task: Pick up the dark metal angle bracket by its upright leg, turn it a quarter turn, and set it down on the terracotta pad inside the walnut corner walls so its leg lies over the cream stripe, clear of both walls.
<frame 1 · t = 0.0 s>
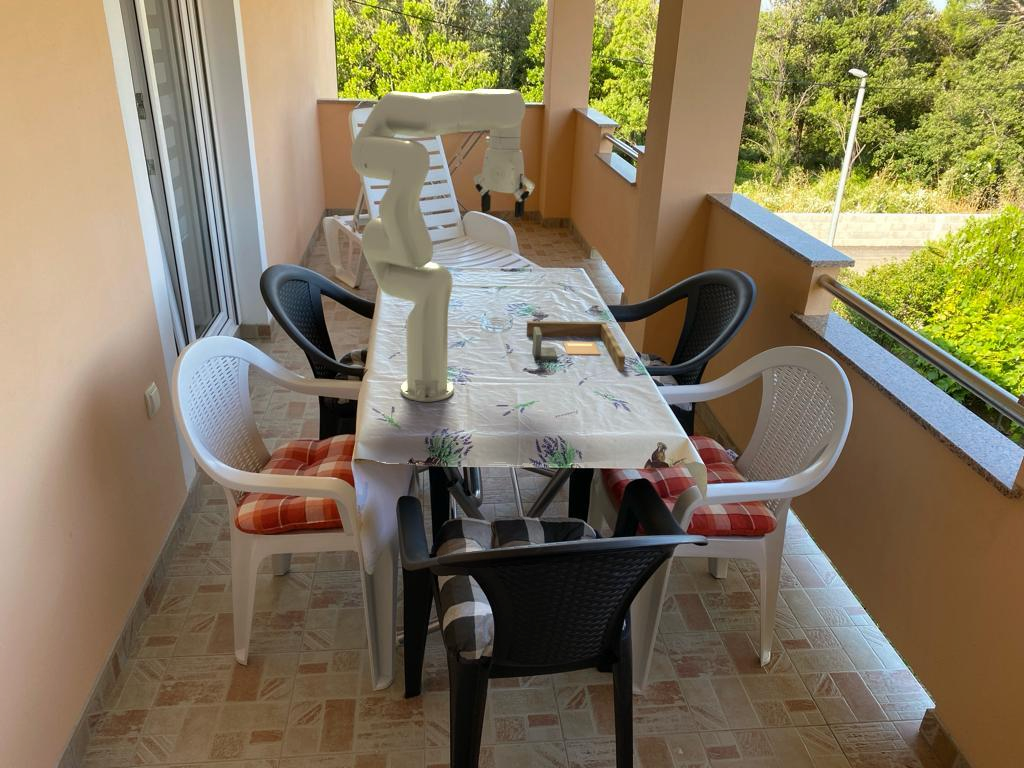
hand: (502, 213, 188), 37 cm above the table, tool pointing down, fingers open, 9 cm apart
bracket: (544, 356, 200), on the table
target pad: (581, 348, 207), on the table
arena: (571, 351, 205), on the table
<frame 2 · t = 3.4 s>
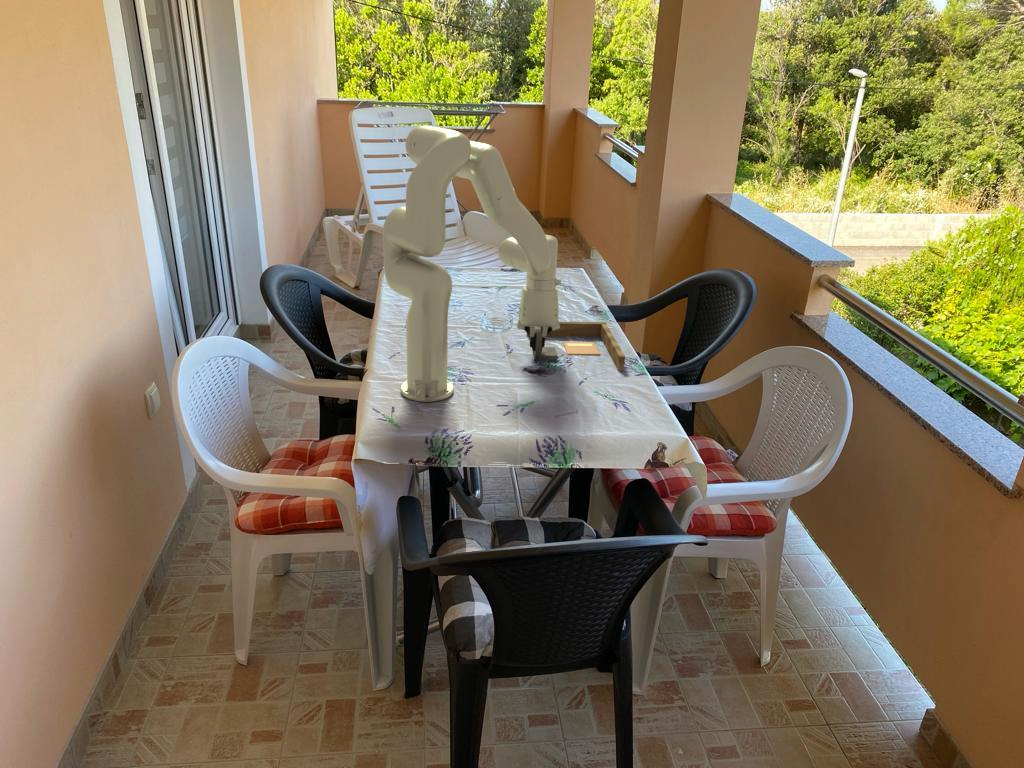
hand: (536, 349, 199), 2 cm above the table, tool pointing down, fingers closed on bracket
bracket: (544, 356, 200), on the table, touching gripper
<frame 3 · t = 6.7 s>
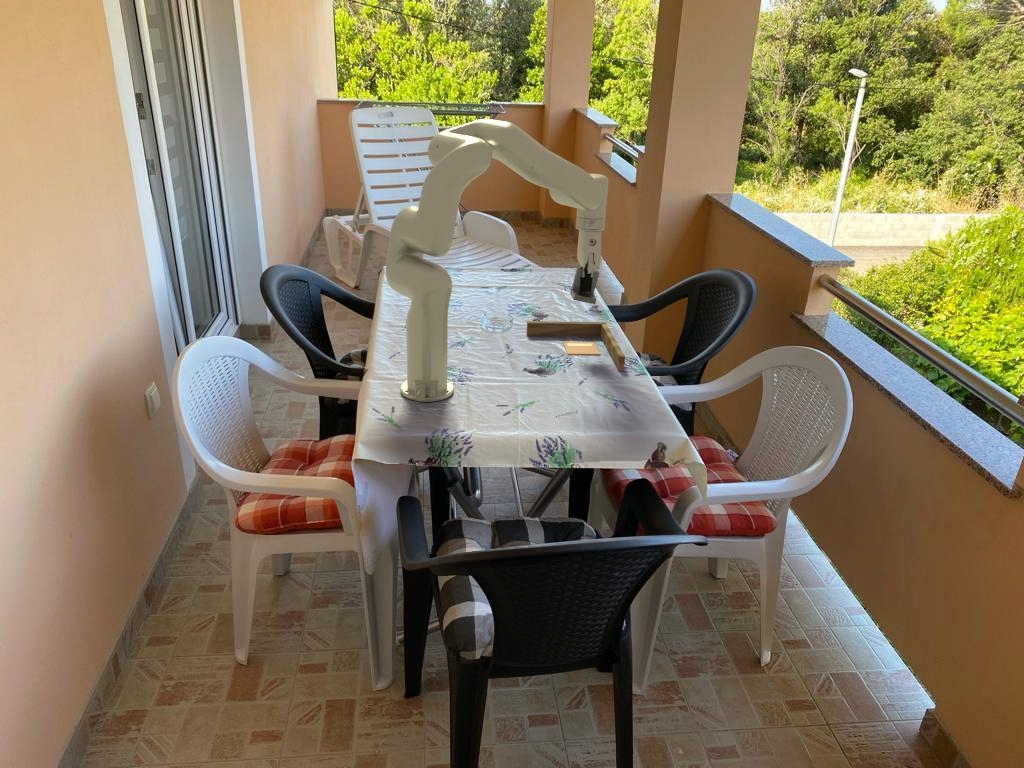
hand: (584, 290, 202), 16 cm above the table, tool pointing down, fingers closed on bracket
bracket: (582, 298, 201), point 15 cm above the table, tilted 10°, touching gripper
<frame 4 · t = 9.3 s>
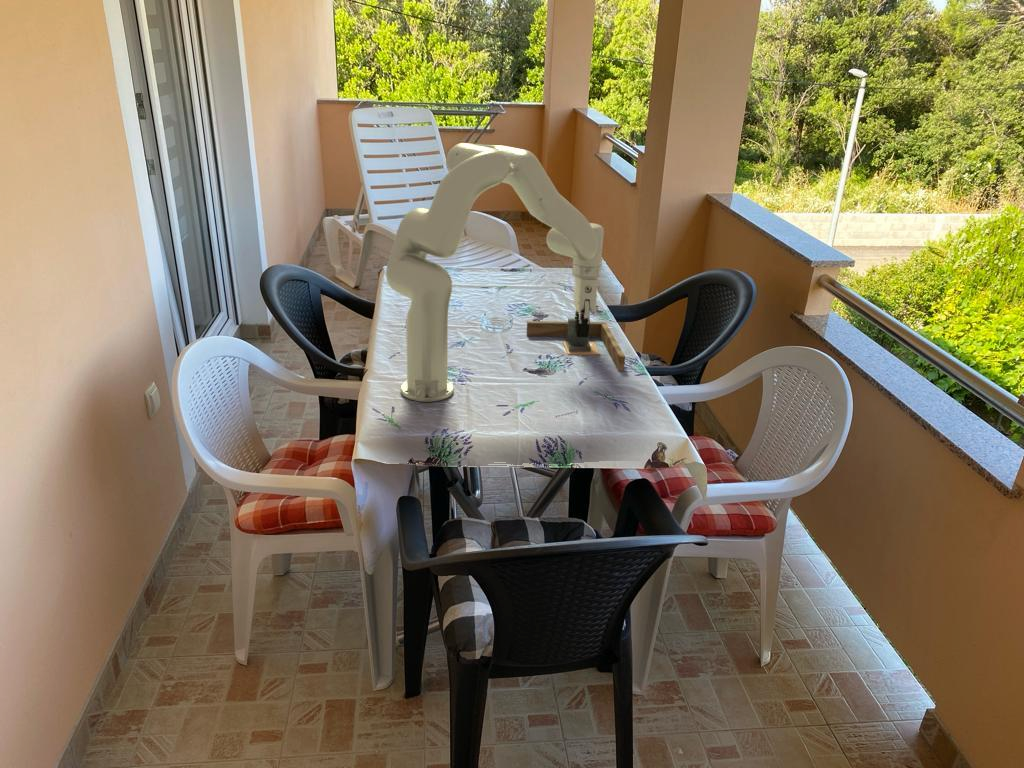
hand: (580, 332, 207), 4 cm above the table, tool pointing down, fingers open, 4 cm apart
bracket: (578, 347, 207), resting on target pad
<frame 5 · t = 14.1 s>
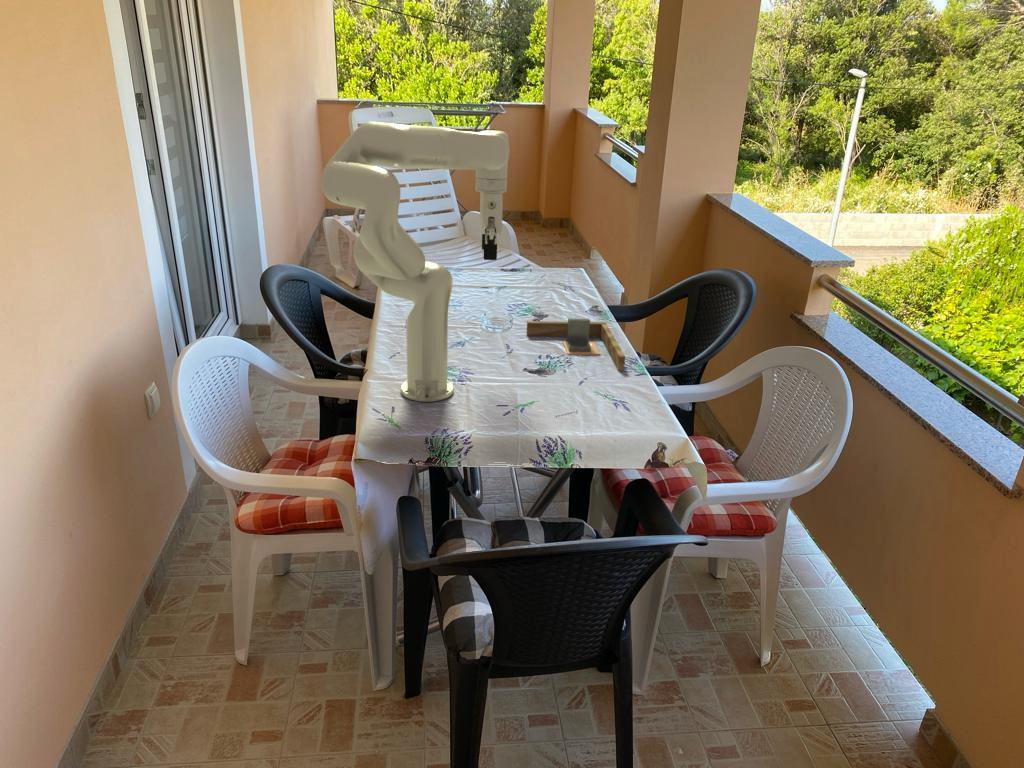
hand: (489, 254, 185), 28 cm above the table, tool pointing down, fingers open, 9 cm apart
nothing on the table moved.
at the end: bracket 0.9 cm off-centre on the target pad, point 0.3 cm above the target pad's base; bracket tilted 0°; bracket touching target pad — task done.
